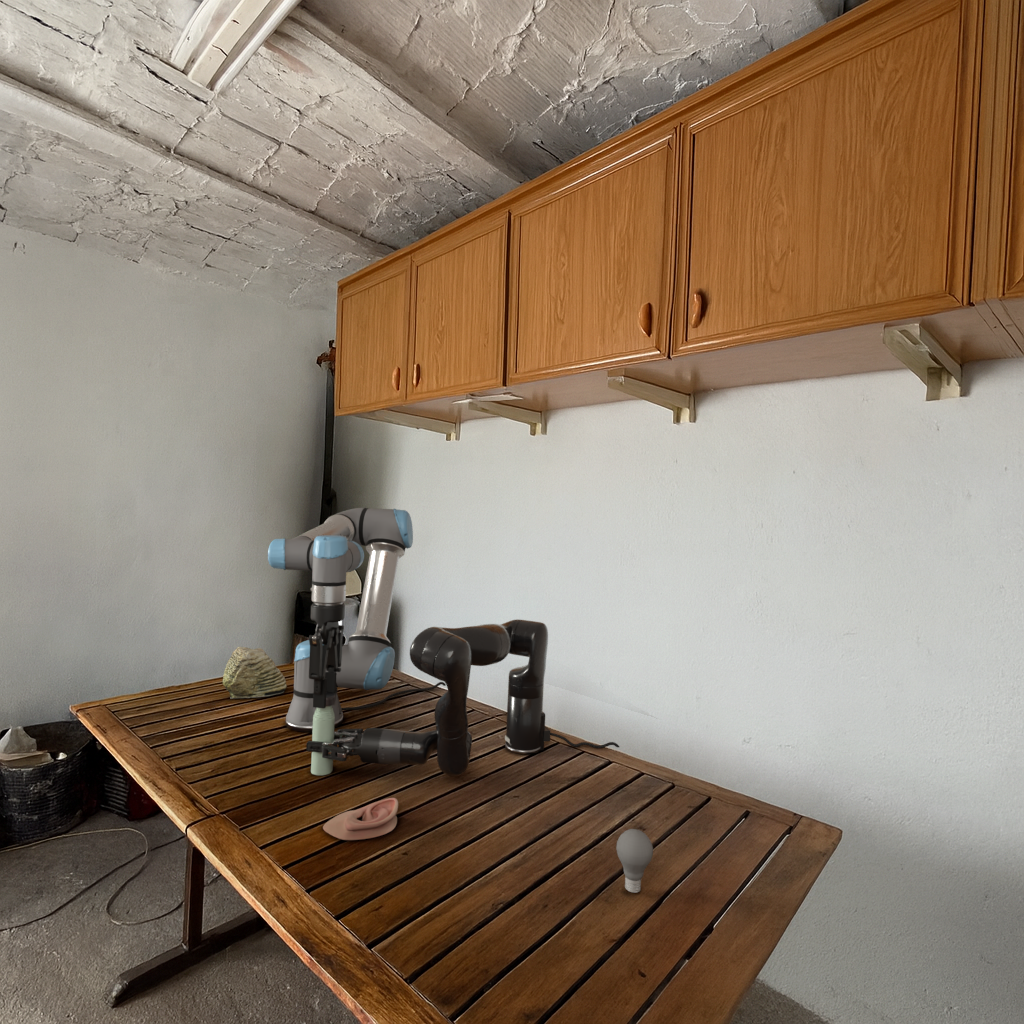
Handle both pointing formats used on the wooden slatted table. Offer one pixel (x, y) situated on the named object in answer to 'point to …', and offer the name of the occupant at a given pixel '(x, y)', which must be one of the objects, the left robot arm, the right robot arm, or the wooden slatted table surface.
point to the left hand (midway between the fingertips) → (324, 703)
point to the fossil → (252, 674)
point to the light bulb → (634, 857)
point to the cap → (330, 698)
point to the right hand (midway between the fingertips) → (311, 741)
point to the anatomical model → (364, 821)
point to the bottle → (322, 739)
